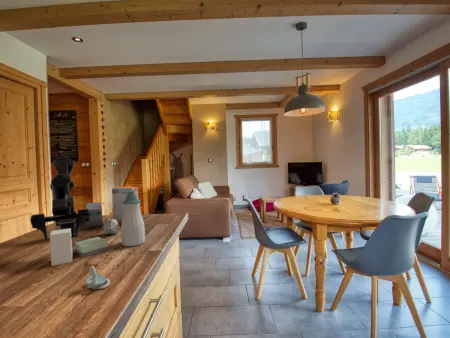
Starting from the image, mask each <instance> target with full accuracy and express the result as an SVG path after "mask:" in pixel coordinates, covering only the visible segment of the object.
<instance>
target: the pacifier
mask: <svg viewBox="0 0 450 338" xmlns="http://www.w3.org/2000/svg"><path fill="white" fill-rule="evenodd" d="M88 270H89V271H88V272H89V274H90V275H89V276H88V277H87V279H86V284H87V286H86V288H87V289H89V288H91V289H92V290H102V289H103V290H104V289H105V288H107V287H108V286H109V285H110V284H111V280H110V278H107V277H105V276H104V275H103V274H100V273H97V272H96V271H97V270H96V269H95V266H94V265H91V266H90V267H89V269H88Z"/></svg>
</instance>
